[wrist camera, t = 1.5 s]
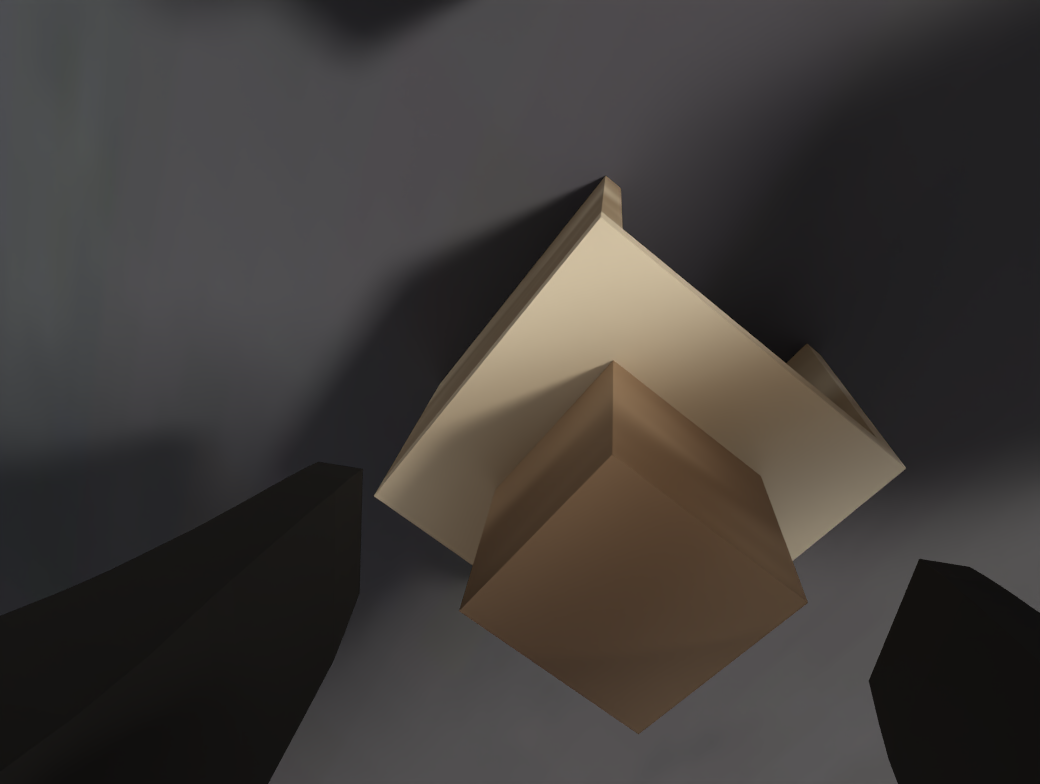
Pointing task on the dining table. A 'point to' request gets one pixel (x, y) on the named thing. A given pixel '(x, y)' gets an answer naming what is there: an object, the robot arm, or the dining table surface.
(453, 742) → the dining table surface
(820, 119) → the dining table surface
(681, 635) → the cover
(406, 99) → the dining table surface
